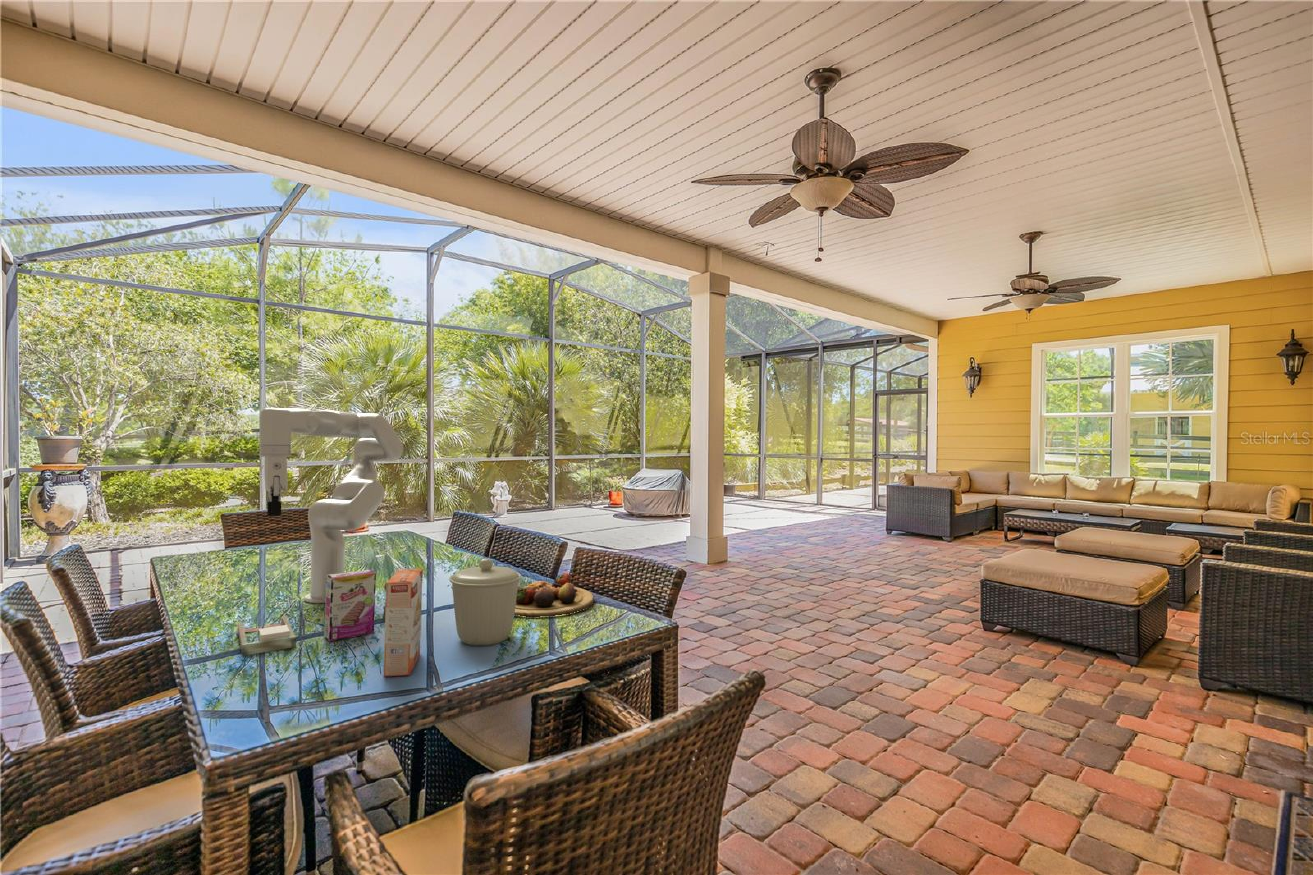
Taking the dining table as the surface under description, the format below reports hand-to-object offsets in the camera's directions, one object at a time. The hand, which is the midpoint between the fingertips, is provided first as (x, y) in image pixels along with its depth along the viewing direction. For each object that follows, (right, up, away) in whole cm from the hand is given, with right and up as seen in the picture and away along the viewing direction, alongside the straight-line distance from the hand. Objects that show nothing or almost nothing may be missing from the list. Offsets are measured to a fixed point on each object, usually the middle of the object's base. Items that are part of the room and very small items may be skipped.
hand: (274, 515), depth 174 cm
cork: (+34, -30, +1) cm, 45 cm away
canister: (+64, -31, -15) cm, 73 cm away
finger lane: (+9, -29, -17) cm, 35 cm away
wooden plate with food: (+73, -31, +20) cm, 82 cm away
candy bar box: (+29, -30, -14) cm, 44 cm away
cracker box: (+51, -30, -34) cm, 68 cm away
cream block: (+14, -30, -22) cm, 40 cm away
